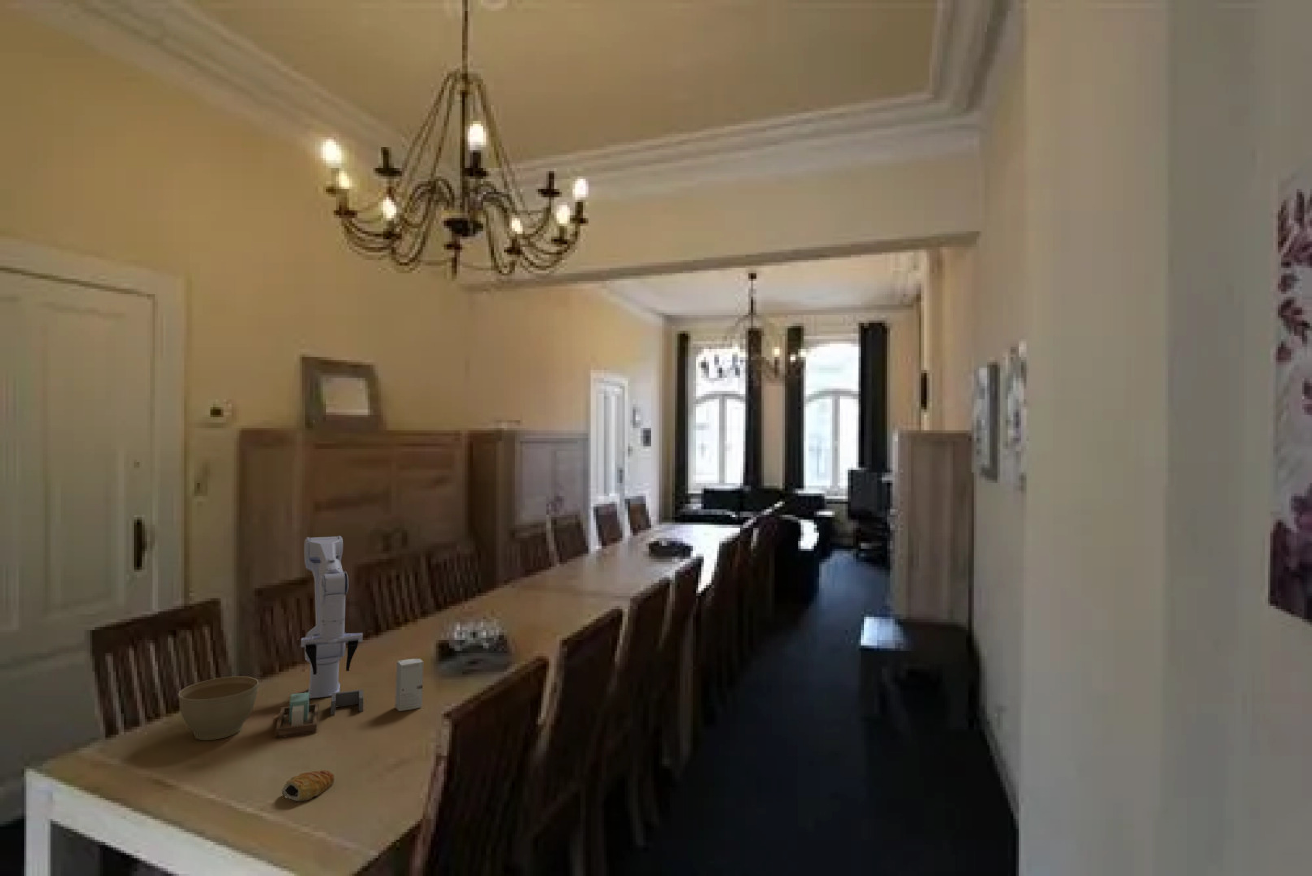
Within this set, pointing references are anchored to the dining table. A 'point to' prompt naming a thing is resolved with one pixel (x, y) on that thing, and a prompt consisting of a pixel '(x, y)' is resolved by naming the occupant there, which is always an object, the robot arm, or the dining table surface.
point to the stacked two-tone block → (299, 708)
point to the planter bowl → (218, 706)
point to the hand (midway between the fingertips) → (331, 671)
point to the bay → (347, 699)
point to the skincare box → (409, 684)
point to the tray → (307, 727)
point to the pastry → (308, 785)
